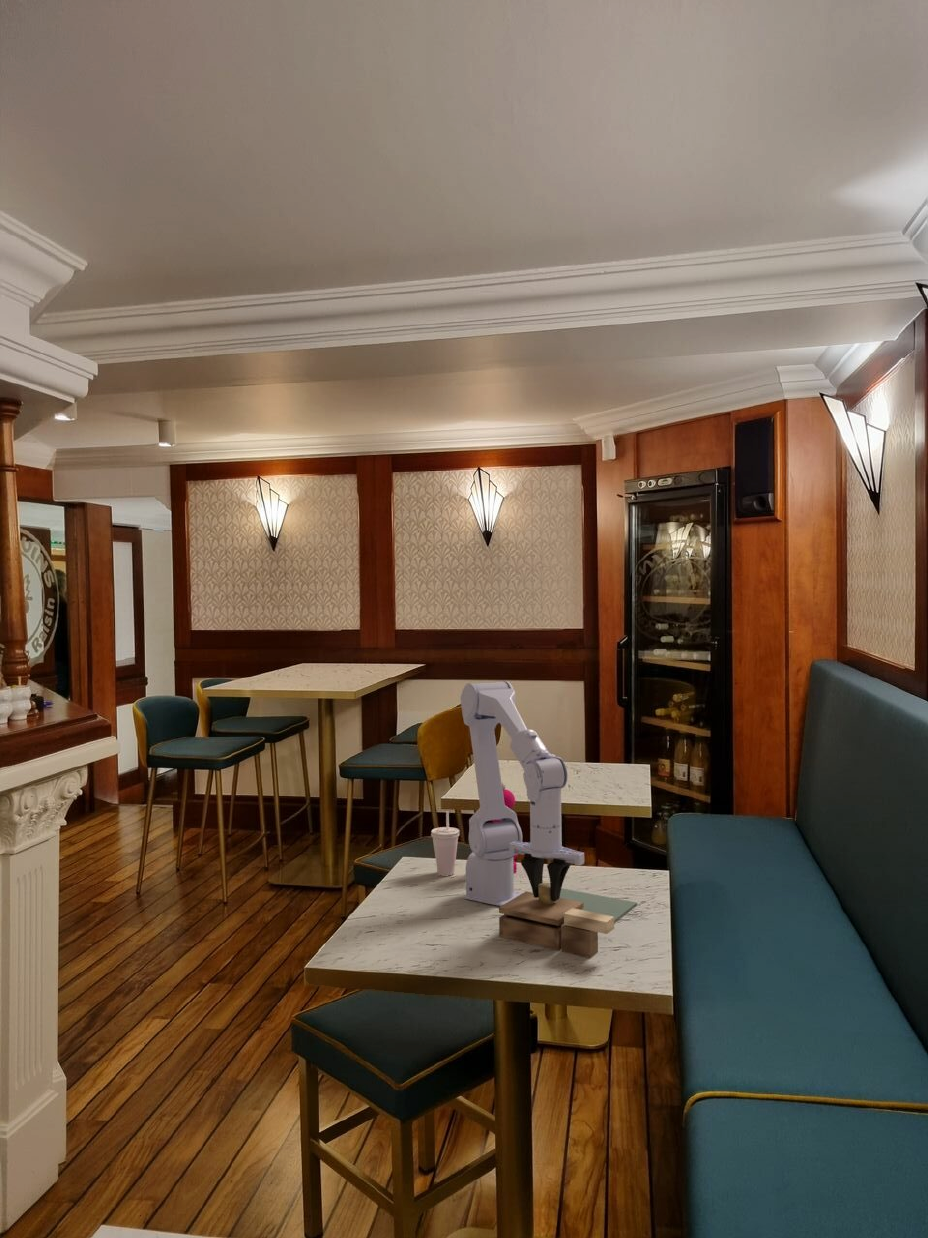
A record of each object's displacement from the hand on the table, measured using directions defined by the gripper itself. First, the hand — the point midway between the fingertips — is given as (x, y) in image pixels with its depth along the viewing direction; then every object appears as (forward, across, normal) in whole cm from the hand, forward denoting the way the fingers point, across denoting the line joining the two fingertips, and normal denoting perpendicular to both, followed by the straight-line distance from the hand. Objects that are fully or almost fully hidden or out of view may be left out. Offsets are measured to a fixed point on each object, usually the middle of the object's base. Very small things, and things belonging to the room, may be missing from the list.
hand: (546, 897), depth 159 cm
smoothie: (+6, -35, +18) cm, 40 cm away
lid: (+2, 0, -2) cm, 3 cm away
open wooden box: (+6, +3, -2) cm, 7 cm away
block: (+1, +11, -5) cm, 12 cm away
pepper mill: (+6, -25, +26) cm, 37 cm away
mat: (+6, -1, +14) cm, 15 cm away
